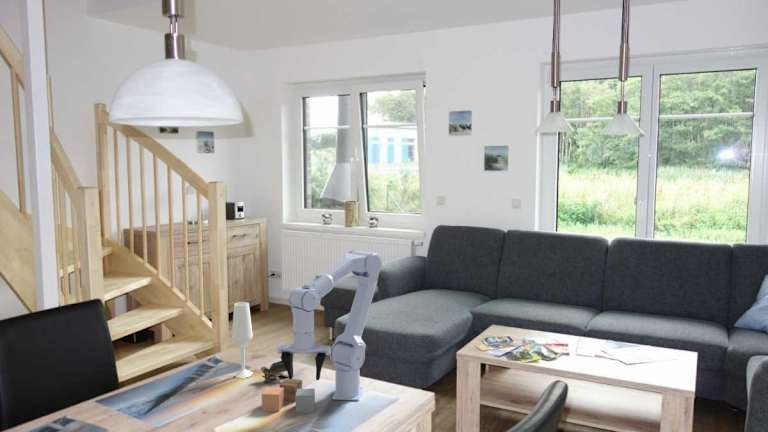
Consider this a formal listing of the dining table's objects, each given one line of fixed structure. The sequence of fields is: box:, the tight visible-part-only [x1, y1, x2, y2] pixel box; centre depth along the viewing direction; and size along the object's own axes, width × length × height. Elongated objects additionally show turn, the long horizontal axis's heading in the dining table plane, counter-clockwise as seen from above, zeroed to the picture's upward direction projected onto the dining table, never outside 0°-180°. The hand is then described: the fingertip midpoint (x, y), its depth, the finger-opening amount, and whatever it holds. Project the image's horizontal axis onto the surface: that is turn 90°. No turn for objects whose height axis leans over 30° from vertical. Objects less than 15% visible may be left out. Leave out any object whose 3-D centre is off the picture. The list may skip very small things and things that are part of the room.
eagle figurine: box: [260, 360, 289, 384], centre depth 191 cm, size 8×7×9 cm
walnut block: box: [279, 377, 303, 403], centre depth 178 cm, size 5×5×5 cm
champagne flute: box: [231, 301, 254, 379], centre depth 195 cm, size 7×7×24 cm
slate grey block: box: [295, 388, 316, 413], centre depth 170 cm, size 5×5×5 cm
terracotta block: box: [261, 386, 285, 412], centre depth 171 cm, size 5×5×5 cm
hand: (304, 378), depth 166 cm, fingers open, 7 cm apart
